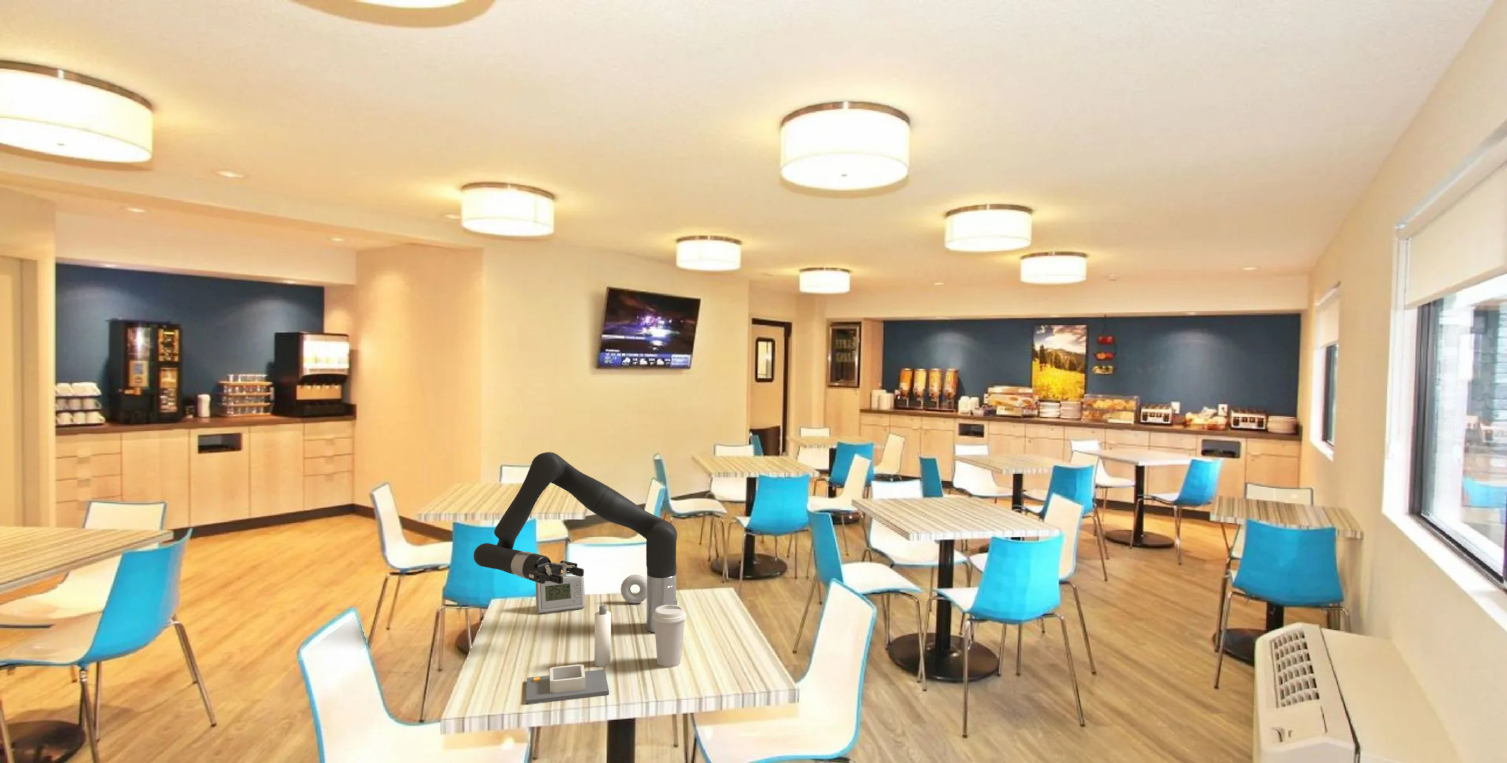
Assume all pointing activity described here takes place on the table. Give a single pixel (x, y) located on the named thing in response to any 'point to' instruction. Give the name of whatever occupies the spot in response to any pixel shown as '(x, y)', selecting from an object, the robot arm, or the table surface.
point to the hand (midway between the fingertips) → (572, 576)
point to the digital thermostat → (560, 595)
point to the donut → (627, 592)
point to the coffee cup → (669, 634)
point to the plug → (602, 637)
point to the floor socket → (566, 684)
